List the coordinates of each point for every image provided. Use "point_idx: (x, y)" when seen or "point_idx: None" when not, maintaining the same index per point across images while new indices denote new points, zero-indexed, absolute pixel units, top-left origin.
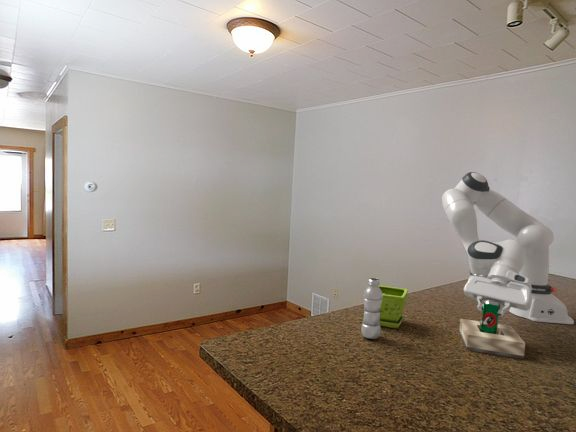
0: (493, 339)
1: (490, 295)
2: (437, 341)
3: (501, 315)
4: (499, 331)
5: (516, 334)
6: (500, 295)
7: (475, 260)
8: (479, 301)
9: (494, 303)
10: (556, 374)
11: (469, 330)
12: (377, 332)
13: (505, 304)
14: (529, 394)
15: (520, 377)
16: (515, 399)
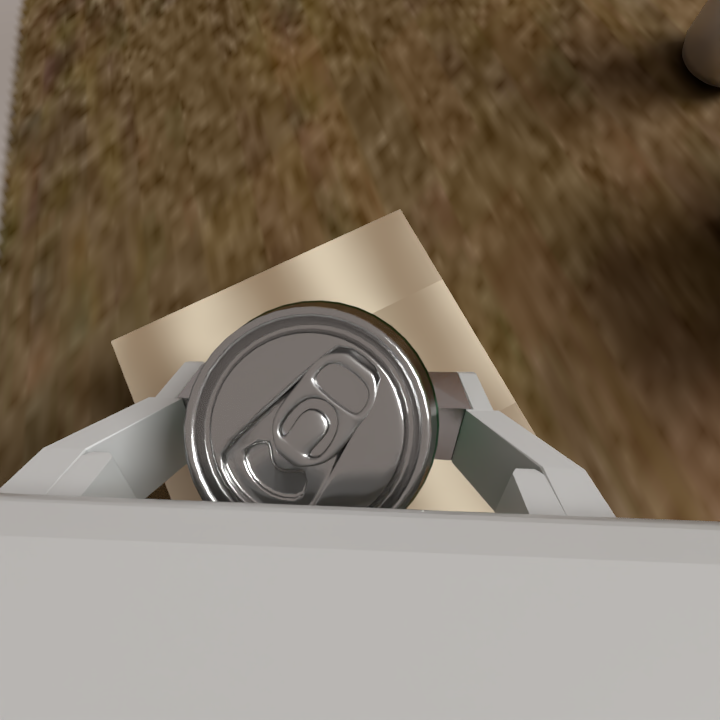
0: (275, 268)
1: (365, 535)
2: (520, 246)
3: None
4: None
5: (174, 475)
6: (90, 607)
7: None
8: (498, 429)
9: (248, 333)
10: (42, 303)
11: (420, 286)
12: (705, 10)
13: (94, 459)
14: (124, 71)
15: (160, 166)
16: (156, 16)
